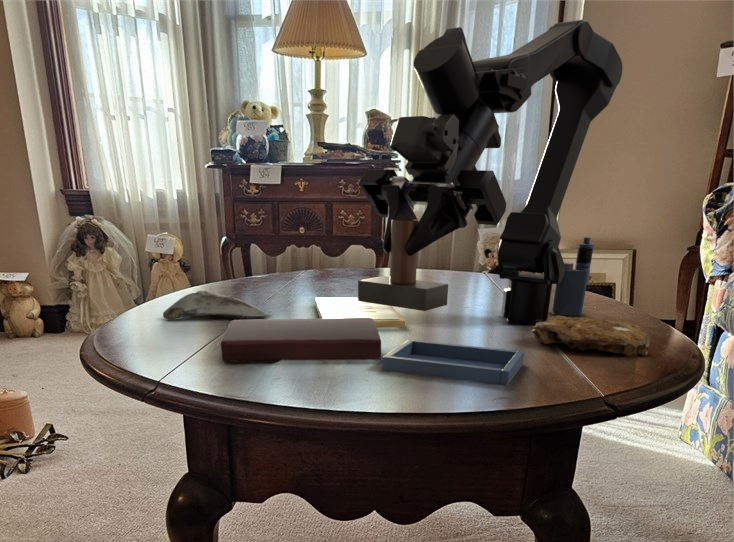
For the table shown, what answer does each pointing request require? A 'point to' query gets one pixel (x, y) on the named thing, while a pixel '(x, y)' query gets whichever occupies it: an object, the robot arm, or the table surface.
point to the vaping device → (573, 283)
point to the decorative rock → (593, 334)
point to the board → (359, 311)
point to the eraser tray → (454, 361)
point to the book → (301, 340)
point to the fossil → (210, 306)
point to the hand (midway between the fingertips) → (396, 251)
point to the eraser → (402, 277)
